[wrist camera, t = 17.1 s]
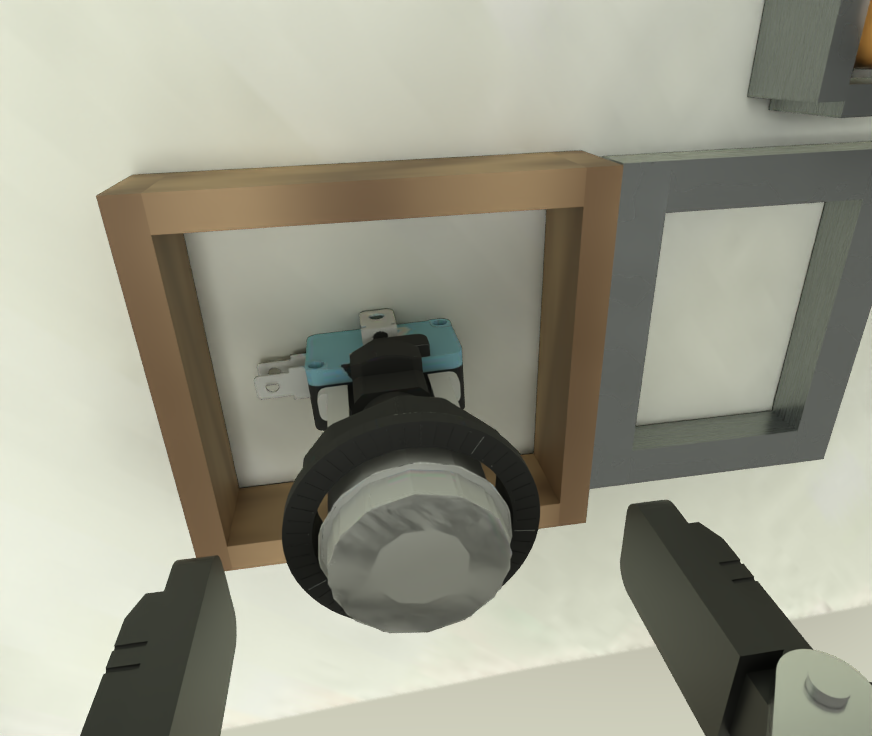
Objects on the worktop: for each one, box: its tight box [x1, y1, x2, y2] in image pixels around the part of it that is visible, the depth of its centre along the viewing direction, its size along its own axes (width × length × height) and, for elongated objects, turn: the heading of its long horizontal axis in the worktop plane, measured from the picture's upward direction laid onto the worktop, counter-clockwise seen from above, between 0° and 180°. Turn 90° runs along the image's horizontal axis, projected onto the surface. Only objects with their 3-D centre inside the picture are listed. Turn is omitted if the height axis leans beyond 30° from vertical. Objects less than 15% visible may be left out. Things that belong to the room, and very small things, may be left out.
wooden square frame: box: [96, 151, 623, 571], centre depth 19 cm, size 13×12×3 cm
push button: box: [254, 309, 540, 633], centre depth 16 cm, size 7×5×10 cm
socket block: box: [589, 141, 872, 489], centre depth 21 cm, size 10×12×2 cm
